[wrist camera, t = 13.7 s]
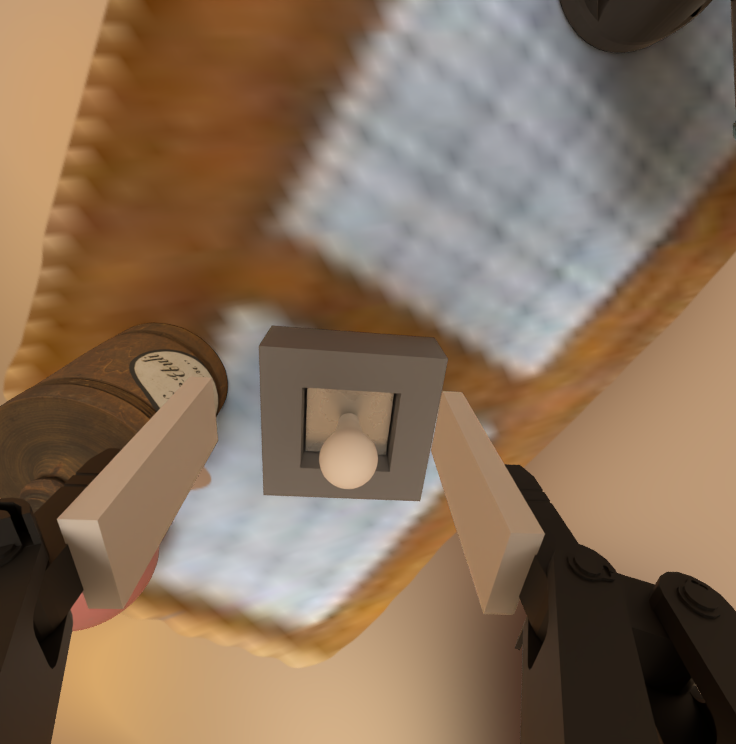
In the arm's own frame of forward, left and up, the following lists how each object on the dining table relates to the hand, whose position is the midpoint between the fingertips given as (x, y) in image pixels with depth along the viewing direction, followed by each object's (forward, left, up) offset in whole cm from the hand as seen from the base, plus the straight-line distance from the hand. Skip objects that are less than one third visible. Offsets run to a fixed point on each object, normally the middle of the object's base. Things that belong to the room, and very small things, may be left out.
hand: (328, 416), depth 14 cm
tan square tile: (-2, +17, -30) cm, 35 cm away
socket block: (-2, +17, -31) cm, 35 cm away
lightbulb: (-2, +17, -27) cm, 32 cm away
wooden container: (+21, +15, -31) cm, 41 cm away
